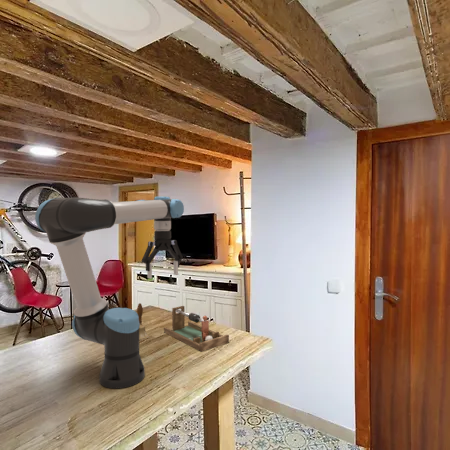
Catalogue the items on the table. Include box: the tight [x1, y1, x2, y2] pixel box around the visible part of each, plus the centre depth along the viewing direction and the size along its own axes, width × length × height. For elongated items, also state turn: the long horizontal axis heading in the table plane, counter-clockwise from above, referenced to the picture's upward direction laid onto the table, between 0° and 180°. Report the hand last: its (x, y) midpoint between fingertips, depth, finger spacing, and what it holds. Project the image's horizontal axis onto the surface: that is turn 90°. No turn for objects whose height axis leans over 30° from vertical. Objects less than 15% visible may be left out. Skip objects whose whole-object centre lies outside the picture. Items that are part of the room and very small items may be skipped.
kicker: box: [176, 309, 210, 342], centre depth 156 cm, size 3×27×11 cm, turn 40°
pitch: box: [163, 305, 230, 352], centre depth 153 cm, size 15×30×12 cm, turn 40°
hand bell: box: [136, 303, 150, 342], centre depth 156 cm, size 8×8×16 cm
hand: (163, 276), depth 154 cm, fingers open, 13 cm apart
